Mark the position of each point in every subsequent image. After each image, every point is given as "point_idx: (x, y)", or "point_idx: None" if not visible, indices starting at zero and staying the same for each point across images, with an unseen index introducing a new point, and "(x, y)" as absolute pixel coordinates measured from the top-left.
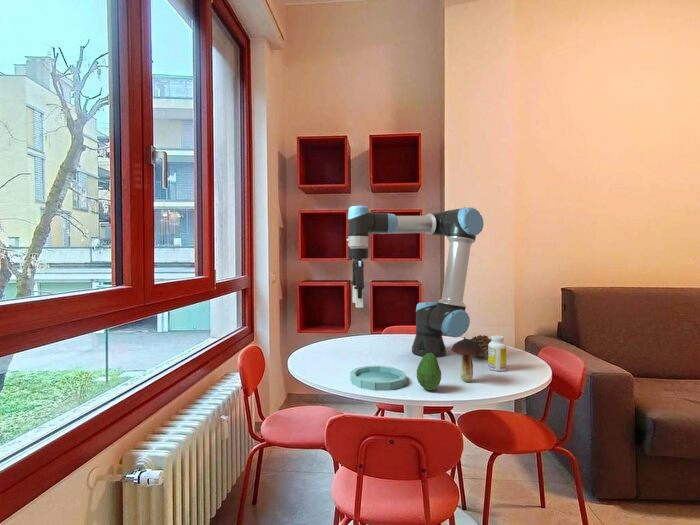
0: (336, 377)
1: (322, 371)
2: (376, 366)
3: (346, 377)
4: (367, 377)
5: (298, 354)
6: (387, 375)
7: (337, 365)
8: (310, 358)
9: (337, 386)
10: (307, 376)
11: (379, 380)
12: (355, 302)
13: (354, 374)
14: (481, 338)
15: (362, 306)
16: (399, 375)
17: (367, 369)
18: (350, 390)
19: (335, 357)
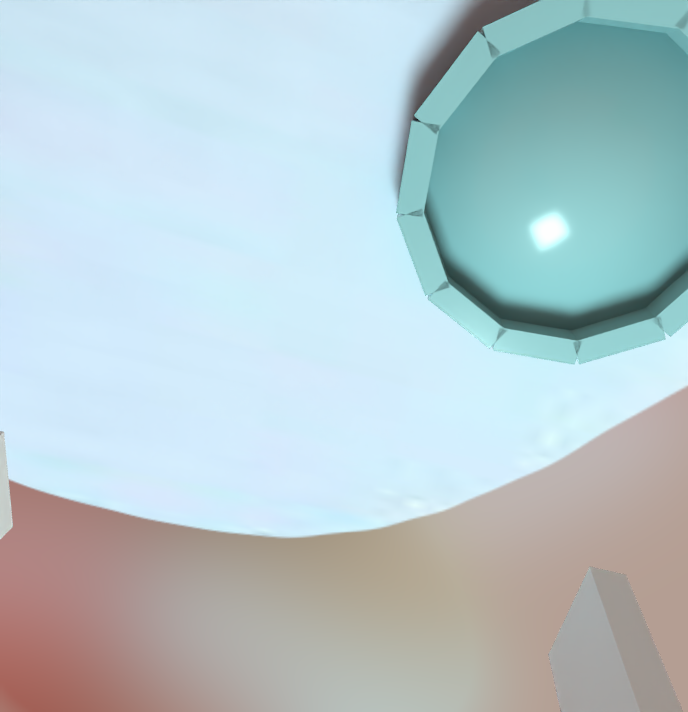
0: (438, 392)
1: (322, 430)
2: (425, 151)
3: (453, 344)
4: (534, 249)
5: None
6: (539, 104)
7: (226, 333)
8: (82, 433)
9: (577, 422)
10: (386, 507)
11: (616, 195)
12: (8, 491)
13: (545, 340)
14: None
15: (624, 597)
16: (598, 22)
17: (426, 216)
18: (661, 382)
19: (61, 302)
